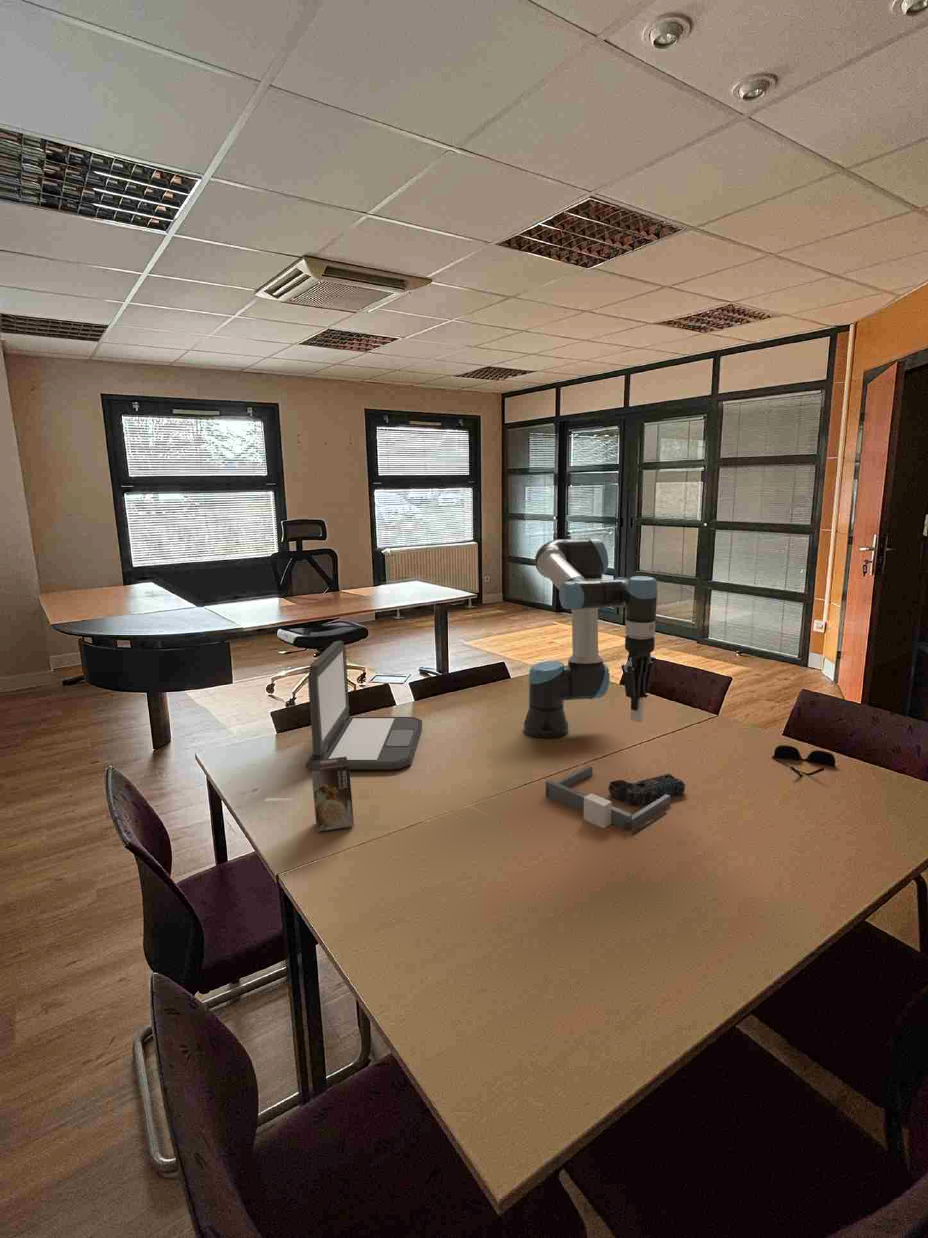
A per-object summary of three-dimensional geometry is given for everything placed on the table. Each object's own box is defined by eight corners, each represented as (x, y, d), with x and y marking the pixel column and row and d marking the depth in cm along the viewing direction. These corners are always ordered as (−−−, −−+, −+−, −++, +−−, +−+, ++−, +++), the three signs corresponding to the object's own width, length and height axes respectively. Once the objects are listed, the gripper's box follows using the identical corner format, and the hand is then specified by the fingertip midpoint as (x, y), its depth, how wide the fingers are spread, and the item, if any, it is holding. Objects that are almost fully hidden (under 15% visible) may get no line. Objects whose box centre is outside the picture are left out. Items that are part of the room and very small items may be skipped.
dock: (538, 799, 167) (538, 778, 165) (589, 773, 181) (589, 753, 180) (628, 840, 146) (629, 816, 145) (677, 807, 161) (678, 785, 160)
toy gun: (606, 779, 167) (631, 795, 159) (662, 766, 175) (688, 780, 166) (606, 794, 168) (630, 811, 159) (661, 780, 176) (688, 795, 167)
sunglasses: (770, 777, 177) (771, 760, 176) (771, 757, 189) (773, 742, 188) (839, 789, 169) (841, 771, 168) (836, 767, 182) (837, 751, 181)
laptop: (409, 772, 185) (405, 668, 178) (305, 772, 186) (297, 669, 180) (423, 724, 222) (420, 637, 216) (337, 724, 224) (331, 638, 217)
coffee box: (351, 814, 161) (348, 755, 158) (354, 826, 155) (350, 766, 152) (315, 819, 159) (310, 760, 155) (316, 832, 153) (311, 771, 149)
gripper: (638, 642, 158) (634, 730, 164) (666, 633, 167) (661, 717, 172) (613, 637, 164) (610, 722, 169) (641, 629, 172) (637, 710, 178)
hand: (636, 720), depth 171 cm, fingers closed
